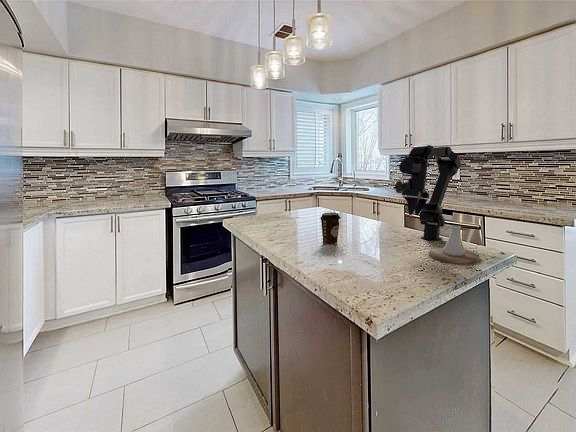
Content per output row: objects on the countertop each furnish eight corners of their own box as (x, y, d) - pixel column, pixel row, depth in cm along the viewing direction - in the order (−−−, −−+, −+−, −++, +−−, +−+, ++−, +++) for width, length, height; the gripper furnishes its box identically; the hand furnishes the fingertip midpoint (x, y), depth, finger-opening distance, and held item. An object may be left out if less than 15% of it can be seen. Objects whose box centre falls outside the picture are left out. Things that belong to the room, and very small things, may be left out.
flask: (470, 255, 110) (472, 227, 108) (452, 257, 108) (454, 229, 106) (454, 250, 117) (456, 224, 115) (437, 252, 115) (439, 225, 113)
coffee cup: (342, 241, 138) (342, 212, 136) (338, 246, 131) (338, 215, 128) (322, 240, 141) (322, 211, 139) (318, 244, 133) (318, 214, 131)
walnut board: (447, 248, 123) (447, 245, 123) (489, 259, 109) (489, 255, 109) (419, 255, 116) (419, 251, 116) (460, 267, 102) (460, 263, 102)
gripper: (405, 177, 139) (400, 212, 140) (391, 173, 124) (386, 212, 125) (431, 179, 133) (427, 215, 134) (420, 174, 118) (415, 215, 119)
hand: (413, 214), depth 128 cm, fingers open, 9 cm apart
